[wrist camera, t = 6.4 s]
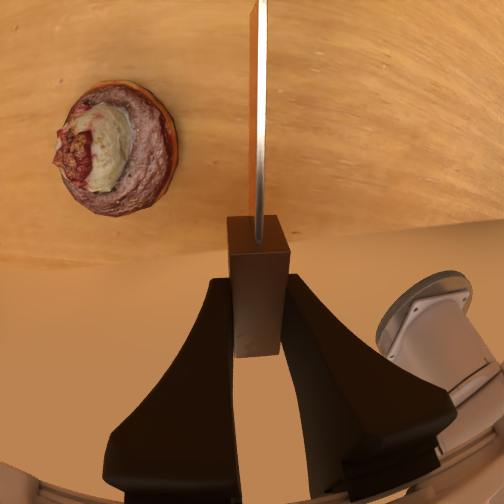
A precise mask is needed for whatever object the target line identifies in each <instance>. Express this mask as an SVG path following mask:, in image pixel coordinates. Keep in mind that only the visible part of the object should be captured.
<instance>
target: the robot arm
mask: <svg viewBox="0 0 504 504" xmlns="http://www.w3.org/2000/svg"><path fill="white" fill-rule="evenodd" d="M469 294H470V292H469V291H468V290H464V291H459V292H454V293H449V294H444V295H438V296H433V297H427V298H422V299H417V300H415V301H414V302H413V303H412V305H411V307H410V309H409V312H408V314H407V316H406V318H405V320H404V322H403V325H402V327H401V329H400V331H399V333H398V335H397V337H396V339H395V341H394V343H393V345H392V347H391V349H390V351H389V353H388V354H387V356H386V358H385V357H383V356H382V355H380V354H379V353H377V352H376V351H375V350H373V349H372V348H371V347H369V346H368V345H366V344H365V343H364V342H363V341H362V340H360V339H359V338H358V337H357V336H356V335H354V334H353V333H352V332H351V331H350V330H349V329H348V328H347V327H346V326H344V324H342V323H341V322H340V321H339V320H338V319H337V318H336V317H335V316H334V315H333V314H332V313H331V312H330V311H329V309H328V308H327V307H326V306H325V305H324V304H323V303H322V302H321V301H320V300H319V299H318V298H317V296H316V295H315V294H314V293H313V292H312V291H311V290H310V289H309V287H308V286H307V285H306V284H305V283H304V281H303V280H302V279H301V278H300V276H298V274H288V283H287V287H286V292H285V301H284V310H283V319H282V327H281V336H280V339H281V343H282V346H283V350H284V353H285V357H286V360H287V364H288V367H289V370H290V374H291V377H292V380H293V384H294V387H295V392H296V396H297V401H298V406H299V411H300V418H301V424H302V431H303V437H304V444H305V452H306V460H307V469H308V479H309V491H310V496H311V500H306V501H300V502H295V503H288V504H367V503H370V502H373V501H376V500H378V499H381V498H384V497H387V496H389V495H392V494H395V493H397V492H400V491H402V490H404V489H407V488H409V487H410V488H409V489H408V490H407V492H406V495H405V496H404V497H401V498H399V499H396V500H394V501H391V502H389V503H386V504H485V503H486V502H488V501H489V502H490V504H504V361H503V362H502V363H501V364H500V363H499V362H497V361H496V359H495V358H494V356H493V354H492V353H491V351H490V350H489V348H488V347H487V345H486V344H485V342H484V341H483V339H482V338H481V336H480V335H479V333H478V332H477V331H476V329H475V328H474V326H473V325H472V323H471V322H470V321H469V319H468V318H467V317H466V315H465V314H464V312H463V311H462V308H463V306H464V304H465V302H466V300H467V298H468V296H469ZM233 350H234V339H233V321H232V301H231V289H230V278H213V279H212V280H210V282H209V287H208V291H207V294H206V297H205V300H204V302H203V305H202V308H201V310H200V312H199V314H198V317H197V319H196V321H195V324H194V325H193V328H192V329H191V331H190V333H189V335H188V337H187V339H186V341H185V343H184V345H183V346H182V348H181V350H180V351H179V353H178V355H177V356H176V358H175V359H174V361H173V362H172V364H171V365H170V367H169V368H168V370H167V371H166V372H165V374H164V375H163V377H162V378H161V379H160V381H159V382H158V384H157V385H156V386H155V387H154V388H153V390H152V391H151V392H150V393H149V394H148V395H147V397H146V398H145V399H144V400H143V401H142V402H141V403H140V405H139V406H138V407H137V408H136V409H135V410H134V411H133V412H132V413H131V414H130V415H129V416H128V417H127V418H126V419H125V420H124V421H123V422H122V423H121V424H120V425H119V426H118V427H117V428H116V429H115V430H114V431H113V432H112V433H111V435H110V437H109V441H108V444H107V448H106V451H105V455H104V464H103V475H102V478H103V480H104V481H105V482H106V483H108V484H109V485H111V486H113V487H115V488H117V489H119V490H121V491H123V492H125V496H124V502H118V501H112V500H108V499H103V498H98V497H94V496H90V495H86V494H82V493H78V492H74V491H71V490H68V489H65V488H61V487H58V486H55V485H52V484H49V483H46V482H43V481H41V480H39V479H38V478H36V477H34V476H32V475H30V474H28V473H26V472H24V471H22V470H20V469H17V468H15V467H13V466H10V465H8V464H6V463H4V462H0V504H242V492H241V483H240V474H239V465H238V455H237V445H236V435H235V423H234V413H233Z"/></svg>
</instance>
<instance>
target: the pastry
mask: <svg viewBox="0 0 504 504" xmlns="http://www.w3.org/2000/svg"><path fill="white" fill-rule="evenodd" d="M57 137H58V140H57V143H56V155H55V157H54V160H53V162H52V163H53V164H55V165H56V166H58V167H59V168H60V172H61V176H62V179H63V183H64V184H65V186H66V187H67V189H68V190H69V192H70V193H71V195H72V196H73V197H74V199H75V200H76V201H77V202H79V203H80V204H82V205H83V206H85V207H86V208H88V209H89V210H90V211H92V212H93V213H95V214H99V215H105V216H110V217H120V216H125V215H129V214H131V213H134V212H136V211H138V210H141V209H145V208H148V207H151V206H152V205H153V204H154V203H156V202H157V201H158V200H159V199H160V198H161V197H162V196H163V195H164V194H165V193H166V192H167V190H168V187H169V185H170V182H171V180H172V178H173V175H174V173H175V170H176V168H177V166H178V137H177V133H176V129H175V124H174V120H173V118H172V116H171V115H170V114H169V112H168V111H167V109H166V108H165V107H164V105H163V104H162V103H161V102H160V101H159V100H158V99H157V98H156V97H155V96H154V95H153V94H152V93H151V92H150V91H149V90H147V89H145V88H143V87H141V86H139V85H137V84H135V83H133V82H131V81H101V82H100V83H98V84H97V85H95V86H94V87H92V88H91V89H90V90H88V91H87V92H85V93H84V94H83V96H82V97H81V98H80V99H79V100H78V101H77V102H76V103H75V104H74V106H73V107H72V108H71V110H70V112H69V115H68V117H67V119H66V121H65V123H64V126H63V127H62V128H61V129H60V130H58V131H57Z"/></svg>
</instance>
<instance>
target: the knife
mask: <svg viewBox="0 0 504 504" xmlns="http://www.w3.org/2000/svg"><path fill="white" fill-rule="evenodd" d="M267 22H268V0H257V1H256V3H255V5H254V7H253V9H252V11H251V13H250V48H249V216H233V217H227V243H228V265H229V278H230V289H231V301H232V321H233V339H234V357H235V358H247V357H260V356H270V355H278V354H279V351H280V343H281V339H280V336H281V327H282V319H283V310H284V301H285V292H286V287H287V283H288V273H289V263H290V253H291V251H290V248H289V246H288V243H287V241H286V238H285V235H284V233H283V230H282V228H281V225H280V223H279V220H278V218H277V215H264V183H265V142H266V94H267Z"/></svg>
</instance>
